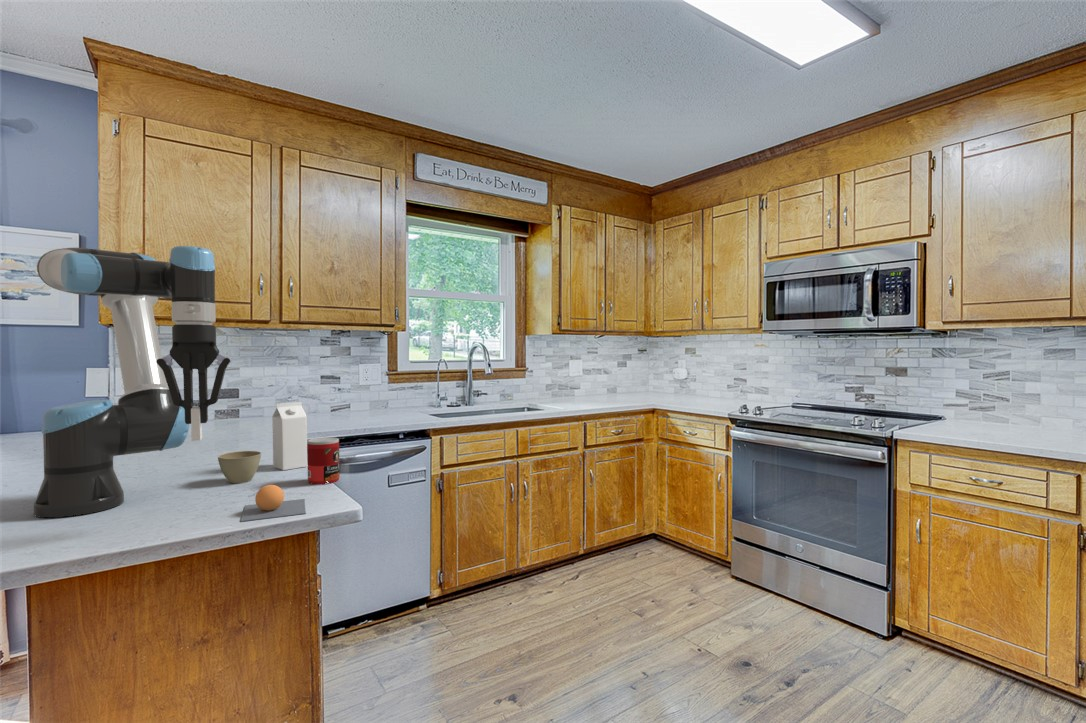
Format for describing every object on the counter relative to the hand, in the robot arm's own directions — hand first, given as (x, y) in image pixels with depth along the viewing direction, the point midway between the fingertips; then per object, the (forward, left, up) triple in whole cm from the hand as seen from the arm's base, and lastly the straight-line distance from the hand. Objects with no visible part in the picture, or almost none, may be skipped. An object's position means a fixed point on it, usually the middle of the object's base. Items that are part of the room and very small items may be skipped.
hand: (196, 439), depth 111 cm
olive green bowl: (+5, +33, -17) cm, 37 cm away
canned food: (+25, +23, -17) cm, 38 cm away
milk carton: (+17, +46, -17) cm, 52 cm away
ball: (+13, 0, -14) cm, 19 cm away
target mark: (+14, 0, -16) cm, 22 cm away
